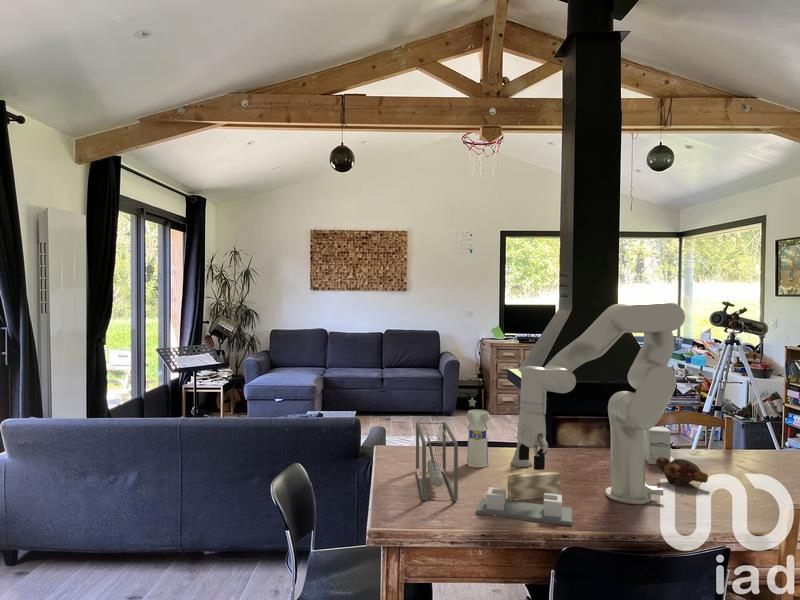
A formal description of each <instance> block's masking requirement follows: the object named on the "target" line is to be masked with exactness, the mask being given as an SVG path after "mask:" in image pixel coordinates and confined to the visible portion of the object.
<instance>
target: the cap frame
mask: <svg viewBox="0 0 800 600" xmlns="http://www.w3.org/2000/svg"><path fill="white" fill-rule="evenodd" d="M476 513H477V514H476V515H481V514H486V515H485V516H489V515H496V516H495V517H497V516H503V517H502V518H505V517H510V518H509V519H513V518H516V519H515V520H521V521H522V520H523V521H528V522H529V521H530V522H538V523H547V524H555V525H563V526H570V527H572V526H573V514H572V513H573V512H572V507H567V506H563V495H562V494H560V495H558V494H549V493H544V498H543V504H542V503H540V504H539V503H529V502H523V501H511V500H507V489H506V488H500V487H491V486H489V488H488V490H487V492H486V497H481V499H480V501H479V504H478V506H477V508H476Z"/></svg>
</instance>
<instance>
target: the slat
mask: <svg viewBox="0 0 800 600" xmlns="http://www.w3.org/2000/svg"><path fill="white" fill-rule="evenodd" d="M544 493H549V494H558V495H561V473H559V472H557V471H548V472H532V473H516V474H508V475H507V499H508V498H510V499H511V500H515V499H516V501H518V500H517V499H529V500H532V499H531V498H541V499H544ZM511 500H510V501H511Z"/></svg>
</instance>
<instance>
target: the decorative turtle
mask: <svg viewBox="0 0 800 600" xmlns="http://www.w3.org/2000/svg"><path fill="white" fill-rule="evenodd" d="M670 461H671V462H669V460H668V458H665V457H659V458H657V460H656V464H655V465H656V466H657V467H658V469H659V470H660V471H661V472H662V473H663V474H664V476H665V478H666V481H667V483H669V484H670V485H673V484H675V483H676V482H679V483H680V484H681V485H682V486H683V487H684V488H686V487H688V486H689V485H690V483H691V482H693V481H694V482H699V483H703V484H704V483H707V482H708V480H709V475H708V474H707V473H705V472H703V471H702V470H701V469H700V467H699V466H698V465H697V464H696V463H694V462H692V461H690V460H688V459H687V460H686V459H682V458H675V459H673V460H670Z"/></svg>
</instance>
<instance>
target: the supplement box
mask: <svg viewBox="0 0 800 600" xmlns="http://www.w3.org/2000/svg"><path fill="white" fill-rule="evenodd" d="M644 434H645V461H646V462H647V464H649V465H657V464H656V460H657V458H659V457H665V458H668V460H669V462H671V461H672V460H671V431H670V430H669V429H668V427H666V426H665V427H664V426H663V427H662V426H661V427H660V426H654V427H652V428H651V429H648V430H644Z"/></svg>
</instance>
